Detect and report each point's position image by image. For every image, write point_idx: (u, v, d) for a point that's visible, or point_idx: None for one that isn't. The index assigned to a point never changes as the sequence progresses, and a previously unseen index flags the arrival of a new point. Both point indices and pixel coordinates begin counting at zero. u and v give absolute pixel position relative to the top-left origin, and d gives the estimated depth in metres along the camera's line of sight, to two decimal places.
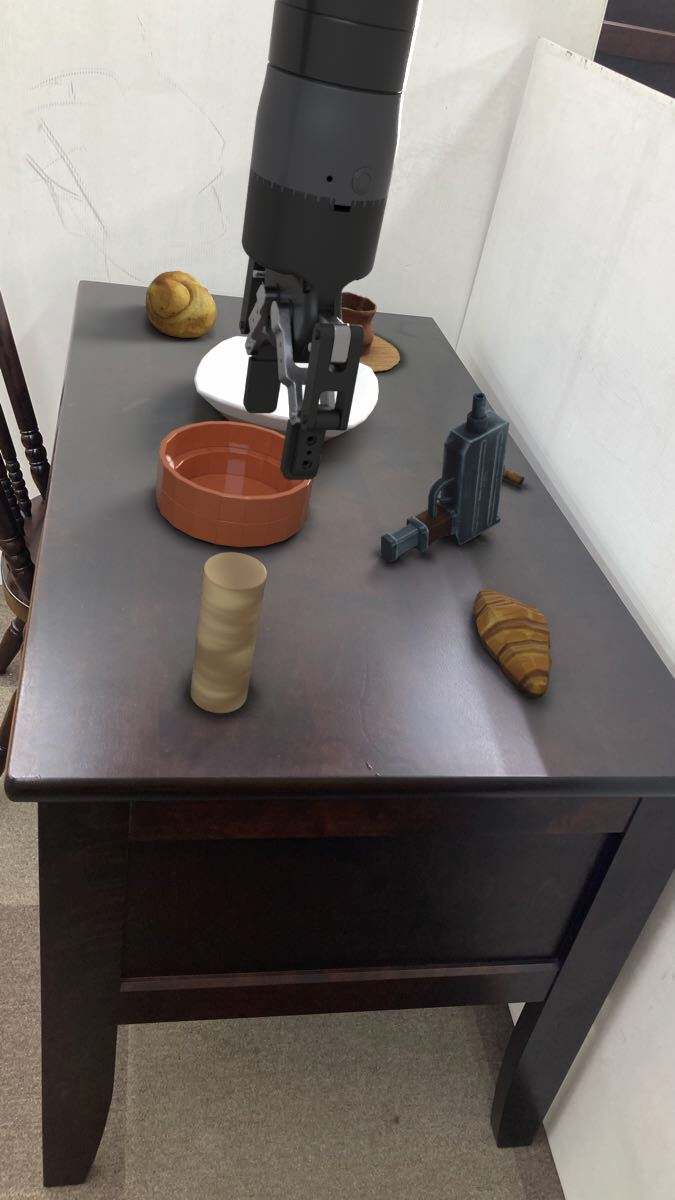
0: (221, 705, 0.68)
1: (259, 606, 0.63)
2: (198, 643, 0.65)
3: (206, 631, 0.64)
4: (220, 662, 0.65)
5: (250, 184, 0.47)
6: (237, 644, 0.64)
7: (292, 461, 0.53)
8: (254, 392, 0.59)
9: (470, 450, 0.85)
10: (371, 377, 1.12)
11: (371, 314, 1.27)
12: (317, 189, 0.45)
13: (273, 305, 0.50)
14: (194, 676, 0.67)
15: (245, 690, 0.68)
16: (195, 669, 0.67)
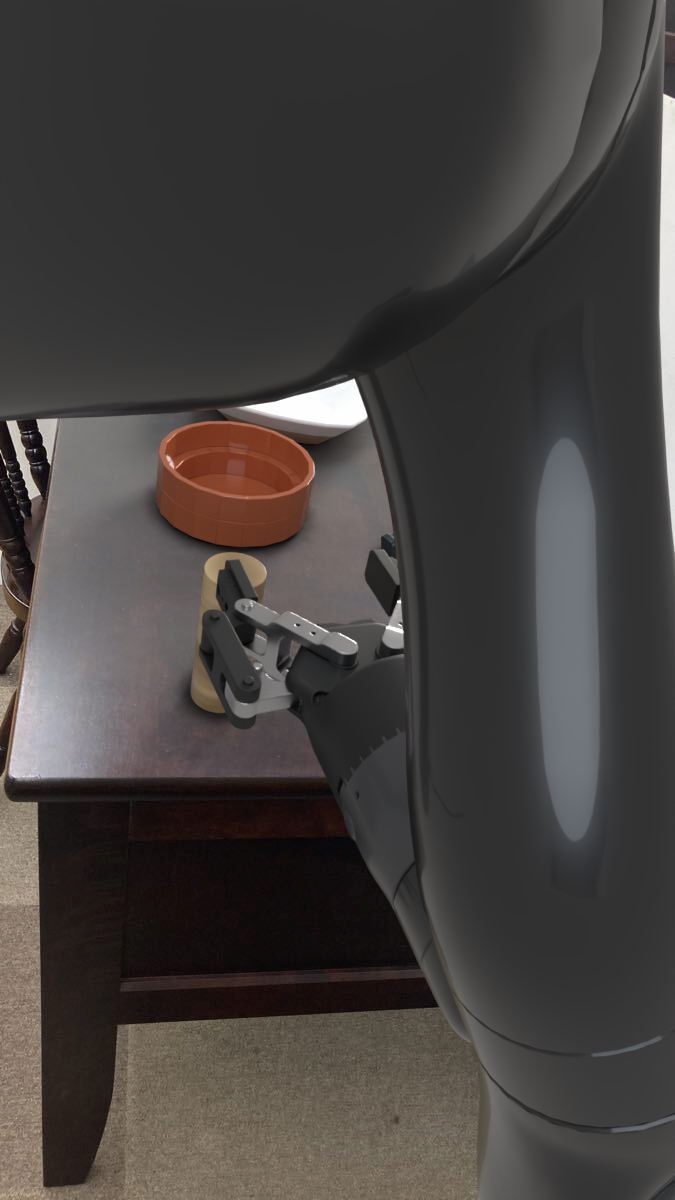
0: (221, 705, 0.68)
1: None
2: (198, 643, 0.65)
3: None
4: None
5: None
6: None
7: (229, 577, 0.47)
8: (379, 567, 0.50)
9: None
10: None
11: None
12: (357, 775, 0.36)
13: (352, 649, 0.42)
14: (194, 676, 0.67)
15: None
16: (195, 669, 0.67)
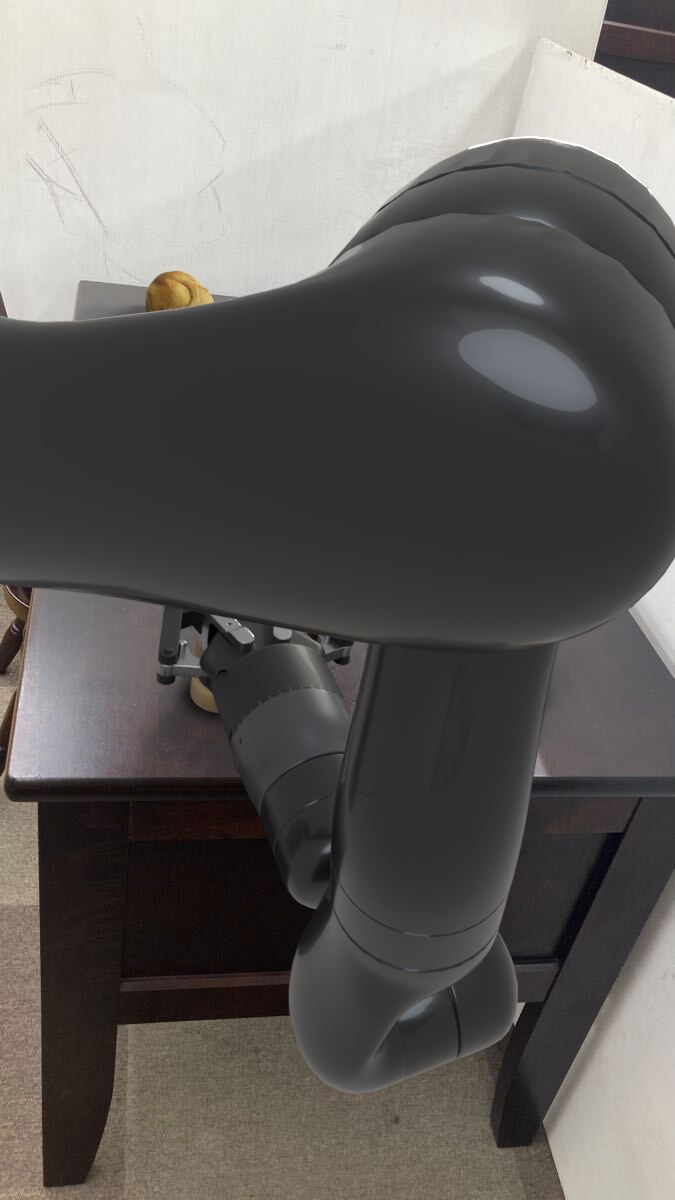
0: None
1: None
2: (198, 643, 0.65)
3: None
4: None
5: (301, 680, 0.52)
6: None
7: None
8: None
9: None
10: None
11: None
12: (241, 728, 0.51)
13: (250, 639, 0.57)
14: None
15: None
16: None
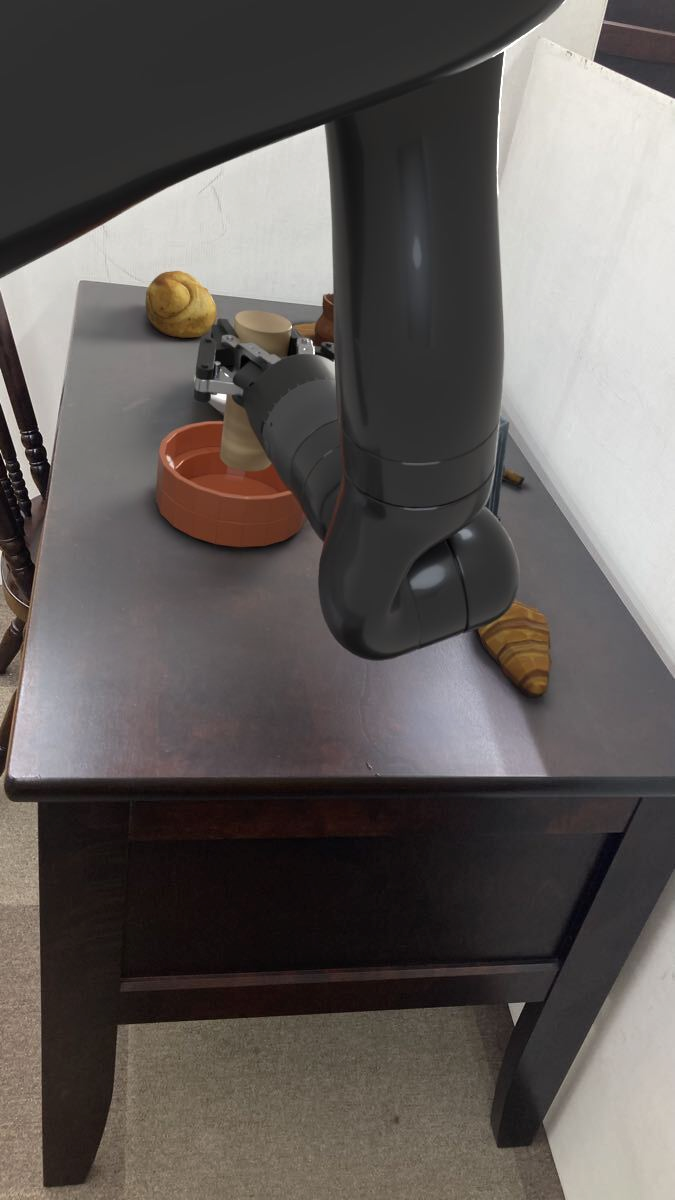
0: (248, 462, 0.73)
1: None
2: (228, 398, 0.71)
3: None
4: None
5: (325, 374, 0.58)
6: None
7: (219, 328, 0.69)
8: None
9: None
10: None
11: None
12: (272, 413, 0.57)
13: None
14: (224, 435, 0.73)
15: None
16: (225, 427, 0.73)
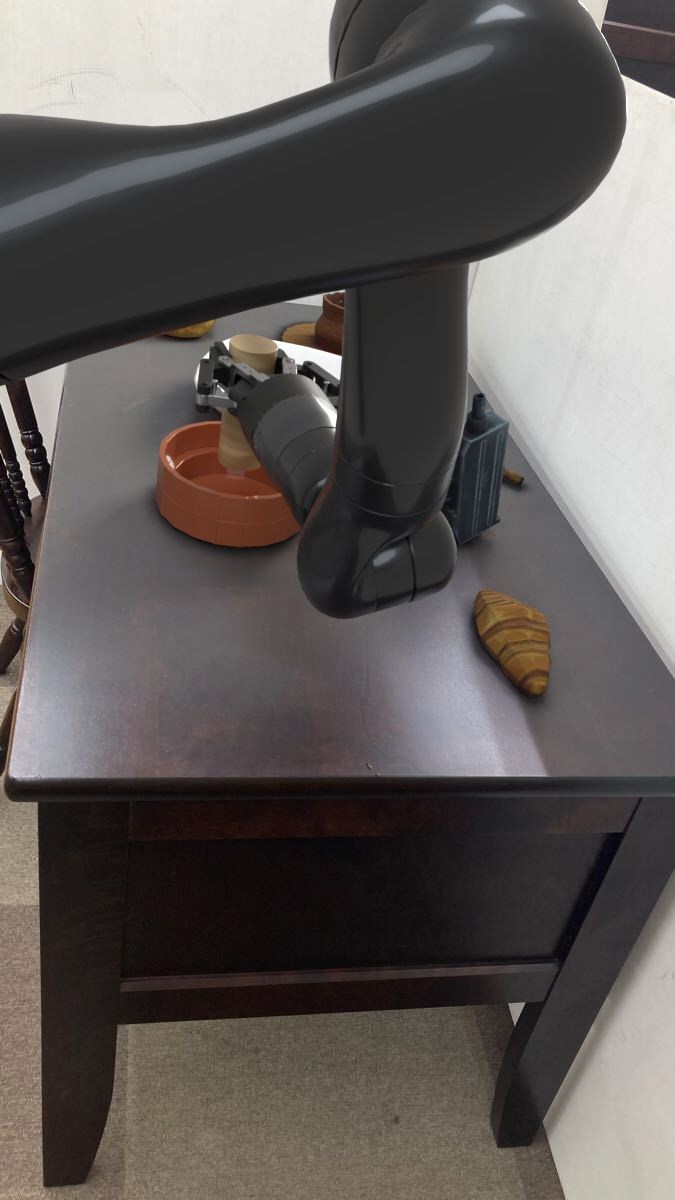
0: (242, 463, 0.86)
1: None
2: (224, 408, 0.83)
3: None
4: None
5: (305, 390, 0.70)
6: None
7: (216, 349, 0.81)
8: None
9: (470, 450, 0.85)
10: None
11: None
12: (260, 423, 0.70)
13: (266, 379, 0.75)
14: (221, 440, 0.85)
15: None
16: (221, 433, 0.85)
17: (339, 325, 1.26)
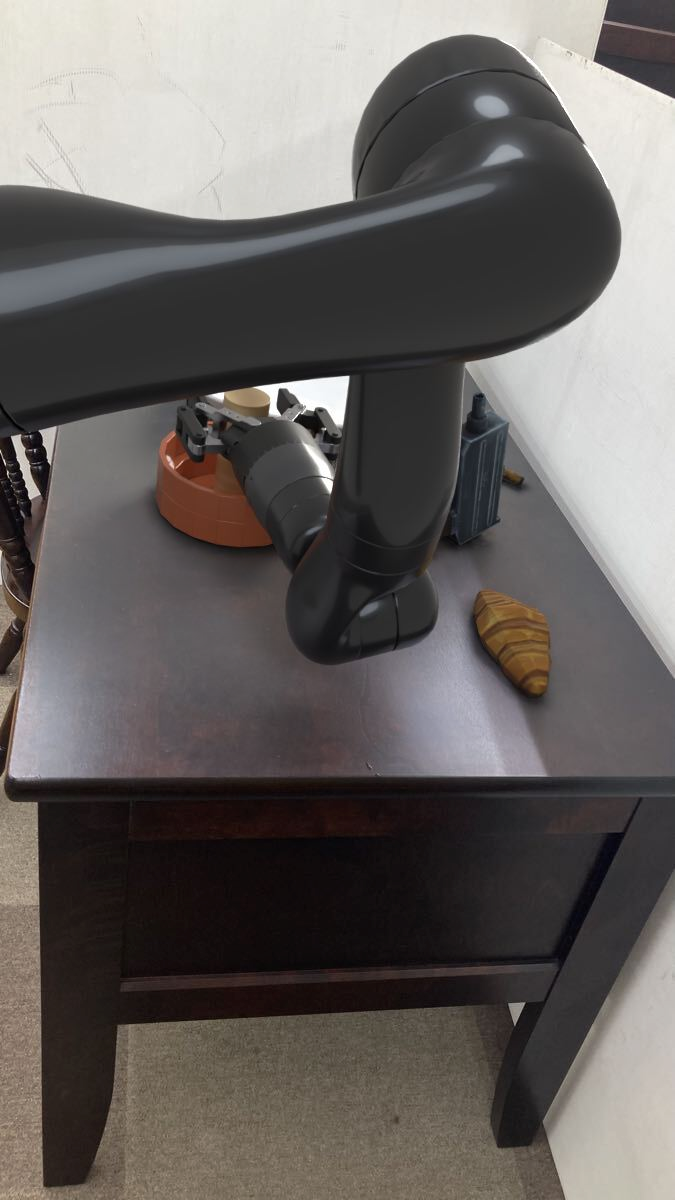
0: None
1: None
2: (219, 457, 0.86)
3: None
4: None
5: (295, 438, 0.73)
6: None
7: None
8: (282, 397, 0.86)
9: (470, 450, 0.85)
10: None
11: None
12: (251, 470, 0.72)
13: (257, 423, 0.78)
14: (215, 486, 0.88)
15: None
16: (216, 480, 0.88)
17: None
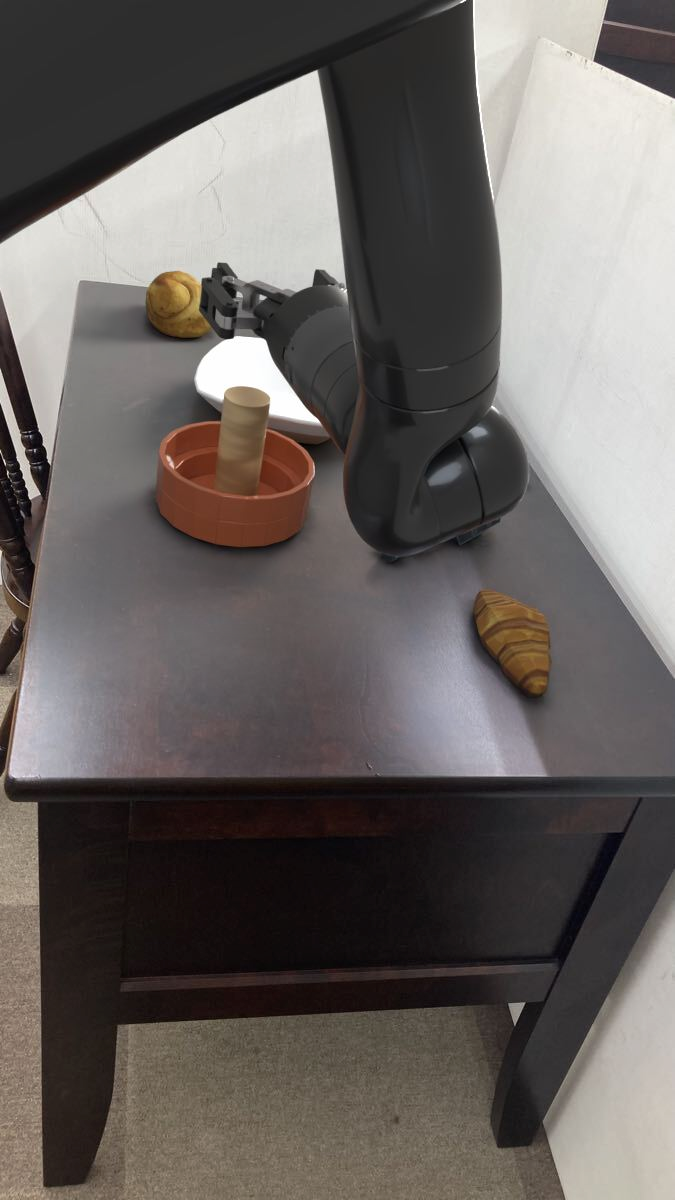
0: None
1: (265, 425, 0.85)
2: (219, 457, 0.86)
3: (225, 444, 0.85)
4: (235, 470, 0.86)
5: (343, 302, 0.62)
6: (249, 455, 0.85)
7: (219, 271, 0.72)
8: (320, 279, 0.75)
9: None
10: None
11: None
12: (293, 338, 0.61)
13: None
14: (215, 486, 0.88)
15: None
16: (216, 480, 0.88)
17: None
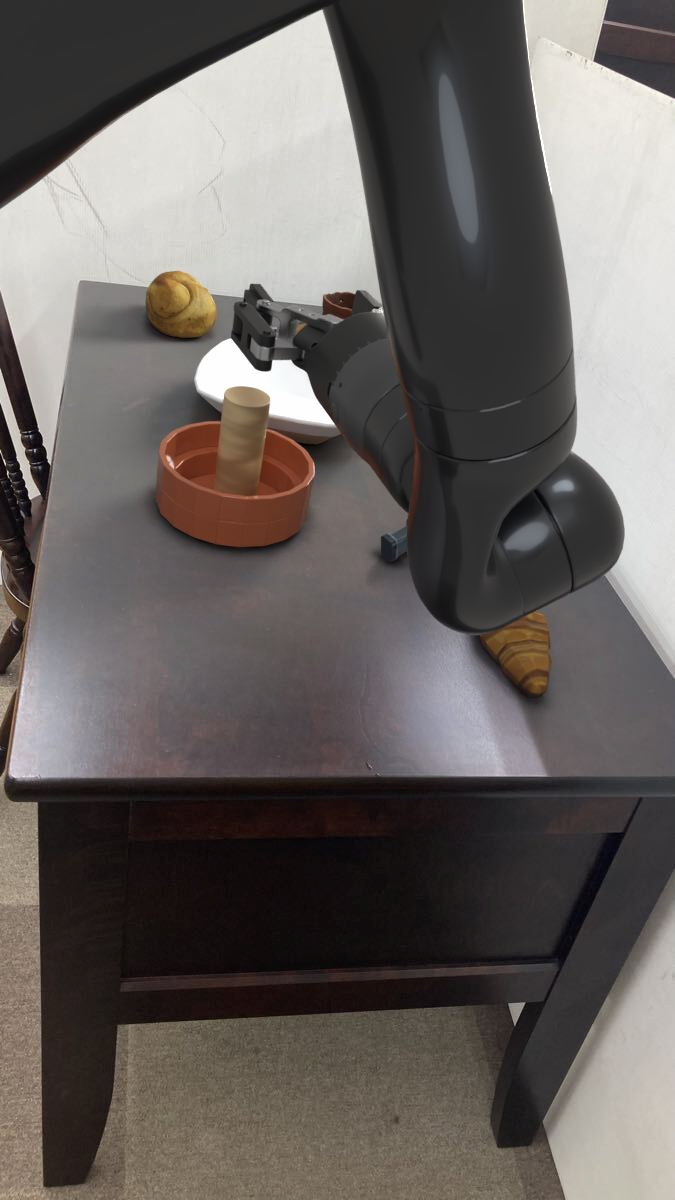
0: None
1: (265, 425, 0.85)
2: (219, 457, 0.86)
3: (225, 444, 0.85)
4: (235, 470, 0.86)
5: None
6: (249, 455, 0.85)
7: (252, 293, 0.65)
8: (362, 301, 0.68)
9: None
10: None
11: None
12: (340, 373, 0.54)
13: (340, 321, 0.60)
14: (215, 486, 0.88)
15: None
16: (216, 480, 0.88)
17: None
